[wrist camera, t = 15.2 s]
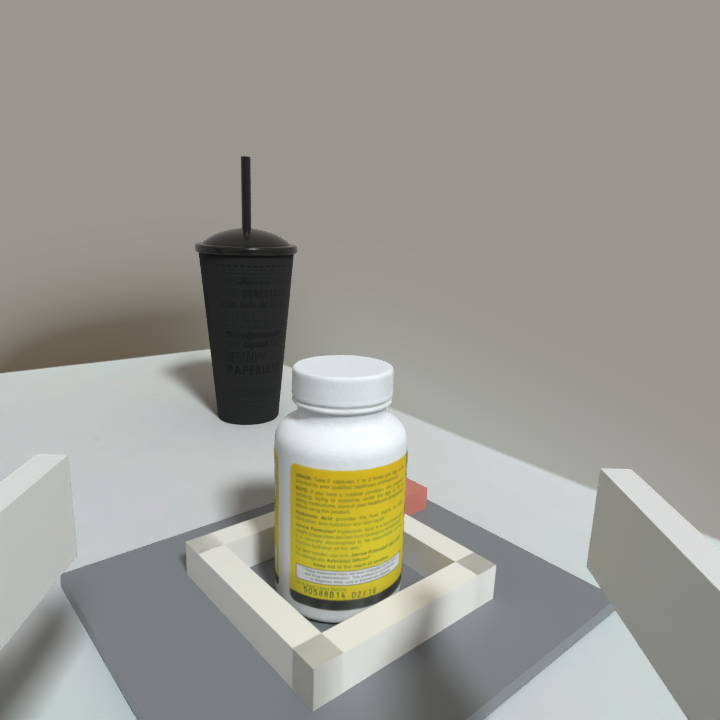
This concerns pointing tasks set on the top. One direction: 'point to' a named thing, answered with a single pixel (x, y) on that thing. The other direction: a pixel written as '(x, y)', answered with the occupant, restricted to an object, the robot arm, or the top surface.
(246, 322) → the drinking cup
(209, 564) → the socket board
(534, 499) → the top surface
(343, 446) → the supplement bottle
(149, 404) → the top surface
